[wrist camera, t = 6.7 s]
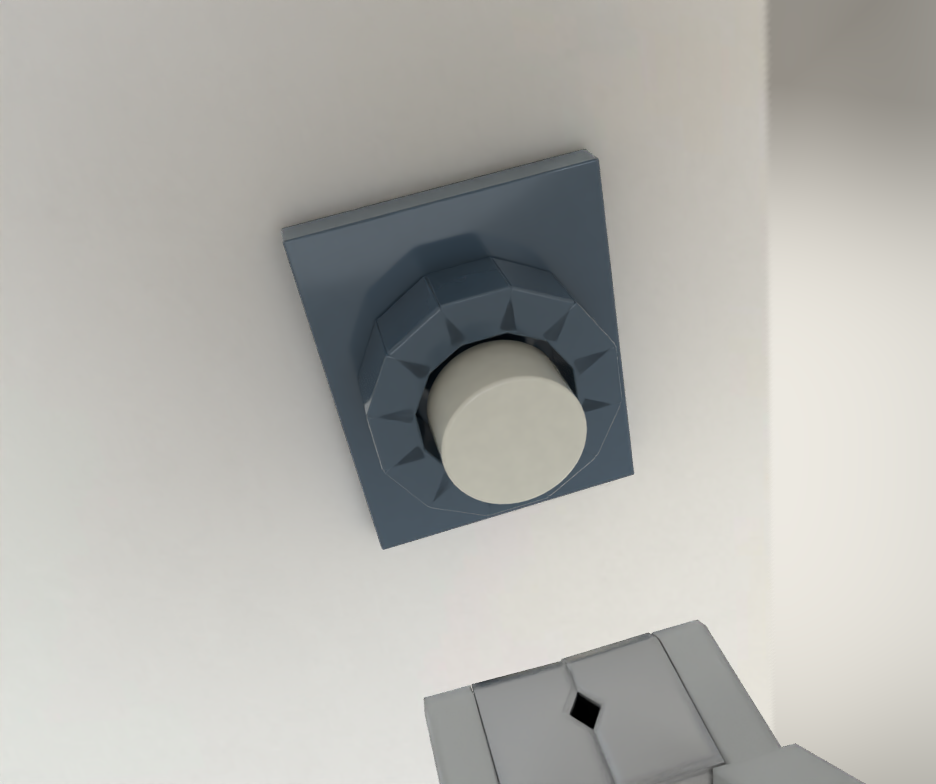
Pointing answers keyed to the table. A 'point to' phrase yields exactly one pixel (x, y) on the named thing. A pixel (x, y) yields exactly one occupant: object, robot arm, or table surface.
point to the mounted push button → (461, 324)
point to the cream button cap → (505, 422)
